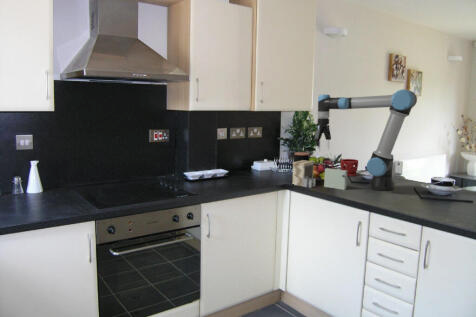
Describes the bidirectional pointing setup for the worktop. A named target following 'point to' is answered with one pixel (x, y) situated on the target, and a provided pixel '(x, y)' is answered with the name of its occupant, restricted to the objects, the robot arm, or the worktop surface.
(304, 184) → the hinge clips
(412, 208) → the worktop surface
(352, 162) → the plant pot
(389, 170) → the robot arm
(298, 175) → the cabinet
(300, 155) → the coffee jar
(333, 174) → the cabinet door
